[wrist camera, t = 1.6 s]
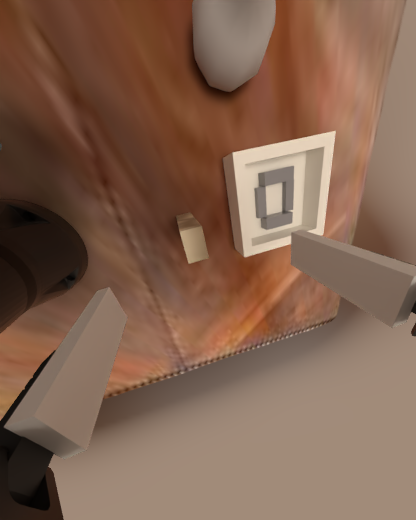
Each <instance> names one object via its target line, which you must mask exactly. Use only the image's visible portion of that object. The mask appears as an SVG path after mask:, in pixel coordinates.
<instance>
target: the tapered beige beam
mask: <svg viewBox="0 0 416 520" xmlns="http://www.w3.org/2000/svg"><path fill="white" fill-rule="evenodd" d="M176 219H177V223H178V227H179V232H180V235H181V238H182V242H183V245H184V249H185V252H186V256H187V259H188V263H189V264H190V263H193V262H197V261H200V260H204V259H207V258H209V256H208V252H207V247H206V243H205V238H204V234H203V229H202V226H201V224H200V223H199V222H198V221H197V220H196V219H195V217H194V216H193V215H192V214H191V213H186V214H182V215H178V216H176Z"/></svg>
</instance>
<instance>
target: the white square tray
mask: <svg viewBox="0 0 416 520" xmlns="http://www.w3.org/2000/svg"><path fill="white" fill-rule="evenodd" d="M335 133H336V131H333V132H328V133H324V134H319V135H314V136H309V137H305V138H300V139H295V140H290V141H286V142H281V143H276V144H271V145H267V146H262V147H257V148H252V149H247V150H243V151H238V152H233V153H231V154H229V155H227V156H226V157H224V158H223V165H224V172H225V180H226V187H227V194H228V201H229V209H230V216H231V223H232V231H233V238H234V245H235V249H236V250H237V251H238V252H239V253H240V254H241V255H242V256H243V257H247V256H251V255H254V254H258V253H261V252H265V251H268V250H272V249H275V248H279V247H282V246H286V245H289V244H291V232H294V231H297V230H300V229H301V230H304V231H307V232H310V233H314V234H317V235H323V232H324V224H325V216H326V207H327V199H328V191H329V182H330V174H331V166H332V158H333V149H334V141H335Z"/></svg>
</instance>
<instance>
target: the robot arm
mask: <svg viewBox="0 0 416 520" xmlns="http://www.w3.org/2000/svg"><path fill="white" fill-rule="evenodd" d="M1 148H2V145H1V143H0V151H1ZM291 265H292V266H294V267H296V268H297V269H299V270H300V271H302V272H304V273H305V274H307V275H308V276H310V277H312V278H313V279H315V280H316V281H318V282H320V283H321V284H323V285H324V286H326V287H328V288H329V289H331V290H332V291H334V292H336V293H337V294H339V295H340V296H342V297H344V298H345V299H347V300H348V301H350V302H352V303H353V304H355V305H356V306H358V307H359V308H361V309H363V310H364V311H366V312H367V313H369V314H371V315H372V316H374V317H375V318H377V319H379V320H380V321H382V322H383V323H385V324H387V325H388V326H390V327H391V328H393V327H395V326H398V325H400V324H403V323H405V322H407V319H408V317H409V315H410V313H411V312H413V313H415V314H416V265H413V264H410V263H407V262H404V261H401V260H397V259H394V258H391V257H388V256H384V255H382V254H378V253H375V252H372V251H367V250H364V249H361V248H358V247H355V246H352V245H348V244H345V243H342V242H339V241H336V240H333V239H329V238H326V237H323V236H320V235H317V234H314V233H310V232H307V231H304V230H301V229H300V230H297V231H294V232H291ZM86 267H87V252H86V248H85V246H84V243H83V241H82V239H81V238H80V236H79V235H78V233H77V232H76V231H75V230H74V229H73V228H72V227H71V226H70V225H69V224H68V223H67V222H66V221H65V220H64V219H62V218H61V217H59V216H58V215H56V214H55V213H53V212H51V211H49V210H48V209H45V208H43V207H41V206H38V205H36V204H33V203H29V202H25V201H20V200H12V199H0V333H1V332H3V331H4V330H5V329H6V328H7V327H8V326H10V325H11V324H12V323H13V322H14V321H15V320H16V319H18V318H19V317H20V316H21V315H22V314H23V313H24V312H26V311H27V310H28V309H30V308H32V307H35V306H37V305H39V304H41V303H44V302H46V301H48V300H51V299H53V298H55V297H58V296H60V295H62V294H64V293H65V292H67V291H68V290H70V289H71V288H72V287H73V286H74V285H75V284H76V283H77V282H78V281H79V280H80V279H81V278H82V276H83V275H84V273H85V271H86ZM127 318H128V317H127V315H126V313H125V312H124V310H123V309H122V307H121V305H120V304H119V302H118V300H117V299H116V297H115V295H114V294H113V292H112V290H111V289H110V287H107V288H104V289H101V290H97V292H96V293H95V294H94V296H93V297H92V299H91V300H90V302H89V303H88V305H87V306H86V308H85V309H84V311H83V312H82V313H81V315H80V316H79V318H78V319H77V321H76V322H75V324H74V325H73V327H72V328H71V329H70V331H69V332H68V334H67V335H66V337H65V338H64V340H63V341H62V343H61V344H60V346H59V347H58V348H57V350H55V351H54V352H53V353H52V354H51V355H50V356H49V357H48V358H47V359H46V360H45V361H44V362H43V363H42V364H41V365H40V367H39V368H38V369H37V371H36V372H35V374H34V375H33V378H31V379H30V380H29V382H28V383H27V385H26V386H25V389H24V390H22V392H21V393H20V394H19V396H18V397H17V399H16V400H15V401H14V403H13V404H12V406H11V407H10V408H9V410H8V411H7V413H6V414H5V415H4V417H3V418H2V420H1V421H0V520H64V519H63V515H62V510H61V506H60V501H59V497H58V492H57V487H56V483H55V478H54V473H53V471H52V470H51V468H49V467H48V465H49V463H50V461H51V458H52V456H53V454H55V455H57V456H59V457H61V458H63V459H67V458H69V457H71V456H74V455H77V454H79V453H81V452H84V451H86V450H87V448H88V445H89V442H90V438H91V435H92V432H93V429H94V425H95V422H96V419H97V416H98V412H99V409H100V406H101V402H102V399H103V396H104V393H105V390H106V386H107V383H108V380H109V377H110V373H111V370H112V367H113V364H114V361H115V357H116V354H117V351H118V348H119V344H120V341H121V338H122V335H123V331H124V328H125V325H126V322H127ZM411 334H412V336H416V323H415V325H414V327H413V329H412V331H411Z"/></svg>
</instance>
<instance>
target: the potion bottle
mask: <svg viewBox="0 0 416 520" xmlns="http://www.w3.org/2000/svg"><path fill="white" fill-rule="evenodd" d="M275 9H276V4H275V0H193V3H192V15H193V45H194V55H195V60H196V62H197V65H198V67H199V69H200V71H201V72H202V74H203V76H204V78H205V79H206V81H207V83H208V85H209V86H211V87H214V88H217V89H219V90H222V91H225V92H226V91H228V92H231V91H233V90H235V89H236V88H238V87H239V86H241V85H242V84H243V83H245V82H246V81H248V80H249V79H251V78H252V77H254V76H255V75H257V73H258V71H259V68H260V65H261V63H262V60H263V57H264V54H265V51H266V48H267V45H268V42H269V39H270V36H271V33H272V30H273V27H274V25H275Z"/></svg>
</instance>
